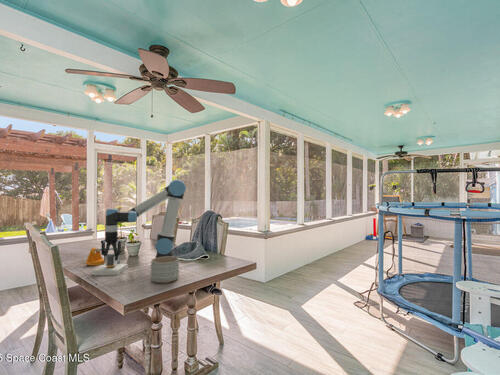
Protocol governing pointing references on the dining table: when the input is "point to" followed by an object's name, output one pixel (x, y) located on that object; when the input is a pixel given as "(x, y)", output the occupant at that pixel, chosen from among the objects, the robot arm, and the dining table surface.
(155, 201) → the robot arm
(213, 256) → the dining table surface
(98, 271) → the socket block
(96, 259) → the bracket
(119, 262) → the handle
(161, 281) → the planter
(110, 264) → the plug
